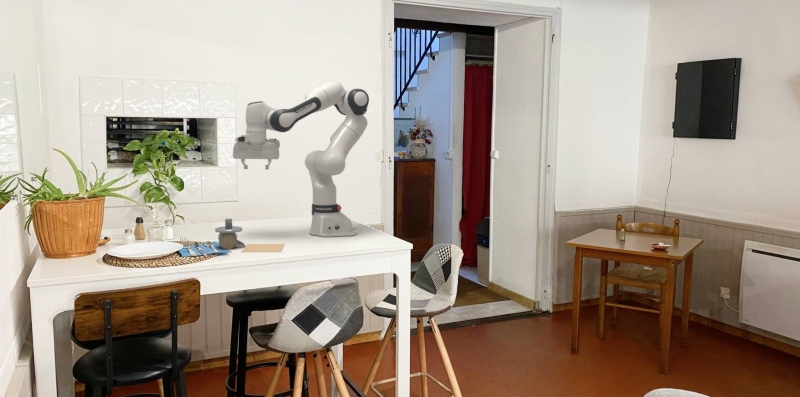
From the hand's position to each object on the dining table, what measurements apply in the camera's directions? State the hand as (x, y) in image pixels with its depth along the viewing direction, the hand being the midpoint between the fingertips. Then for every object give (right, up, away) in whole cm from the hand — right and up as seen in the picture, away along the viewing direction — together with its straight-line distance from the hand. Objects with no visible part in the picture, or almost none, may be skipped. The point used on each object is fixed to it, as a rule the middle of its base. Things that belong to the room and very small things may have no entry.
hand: (256, 169), depth 275 cm
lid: (-7, -26, -20) cm, 34 cm away
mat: (+8, -34, -20) cm, 40 cm away
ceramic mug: (-6, -34, -19) cm, 39 cm away
